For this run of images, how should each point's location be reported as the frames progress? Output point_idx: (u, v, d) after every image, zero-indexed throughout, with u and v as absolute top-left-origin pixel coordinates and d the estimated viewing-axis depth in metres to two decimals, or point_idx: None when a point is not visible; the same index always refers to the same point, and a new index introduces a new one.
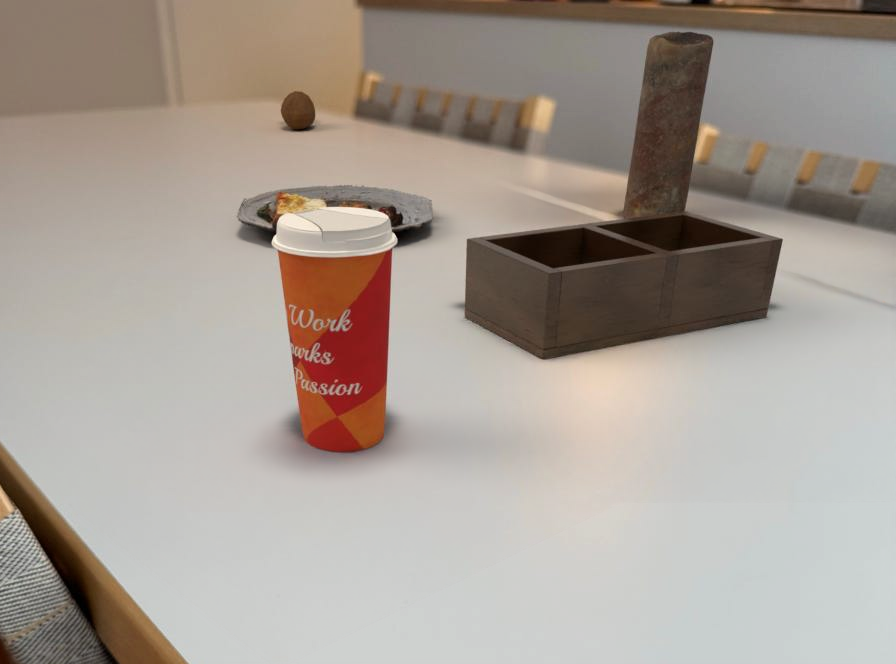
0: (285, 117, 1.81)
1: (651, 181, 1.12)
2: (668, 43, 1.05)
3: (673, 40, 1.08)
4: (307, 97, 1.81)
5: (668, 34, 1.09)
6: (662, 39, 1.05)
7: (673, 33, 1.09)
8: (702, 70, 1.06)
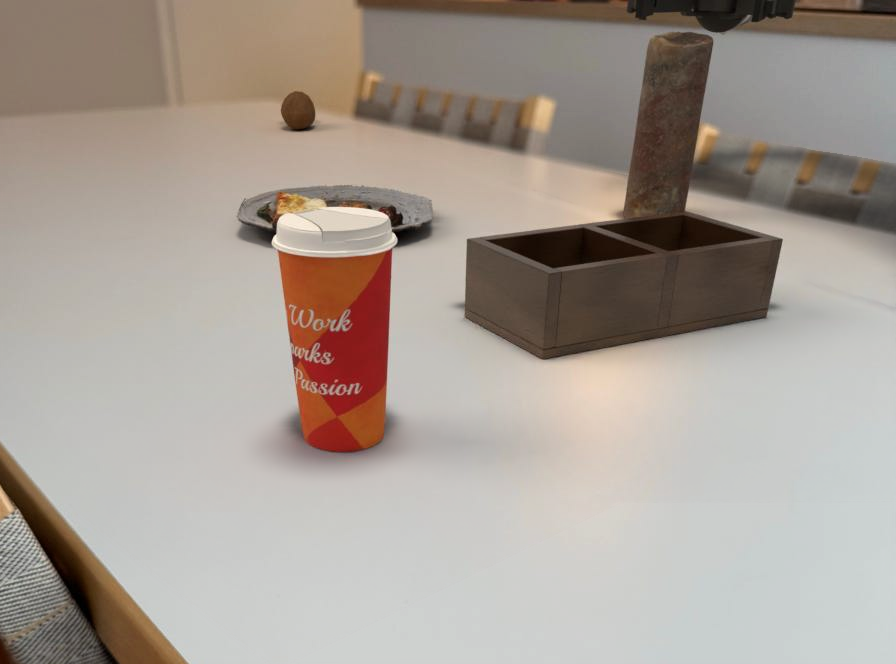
0: (285, 117, 1.81)
1: (651, 181, 1.12)
2: (668, 43, 1.05)
3: (673, 40, 1.08)
4: (307, 97, 1.81)
5: (668, 34, 1.09)
6: (662, 39, 1.05)
7: (673, 33, 1.09)
8: (702, 70, 1.06)
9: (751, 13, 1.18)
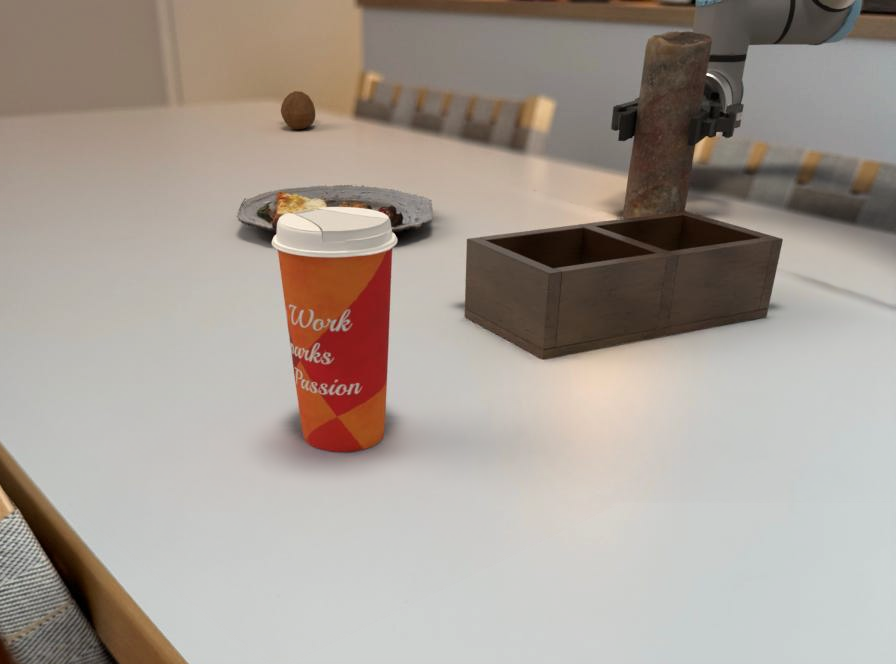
0: (285, 117, 1.81)
1: (650, 181, 1.12)
2: (666, 43, 1.05)
3: (671, 40, 1.08)
4: (307, 97, 1.81)
5: (666, 34, 1.09)
6: (660, 39, 1.05)
7: (671, 33, 1.09)
8: (700, 69, 1.06)
9: None
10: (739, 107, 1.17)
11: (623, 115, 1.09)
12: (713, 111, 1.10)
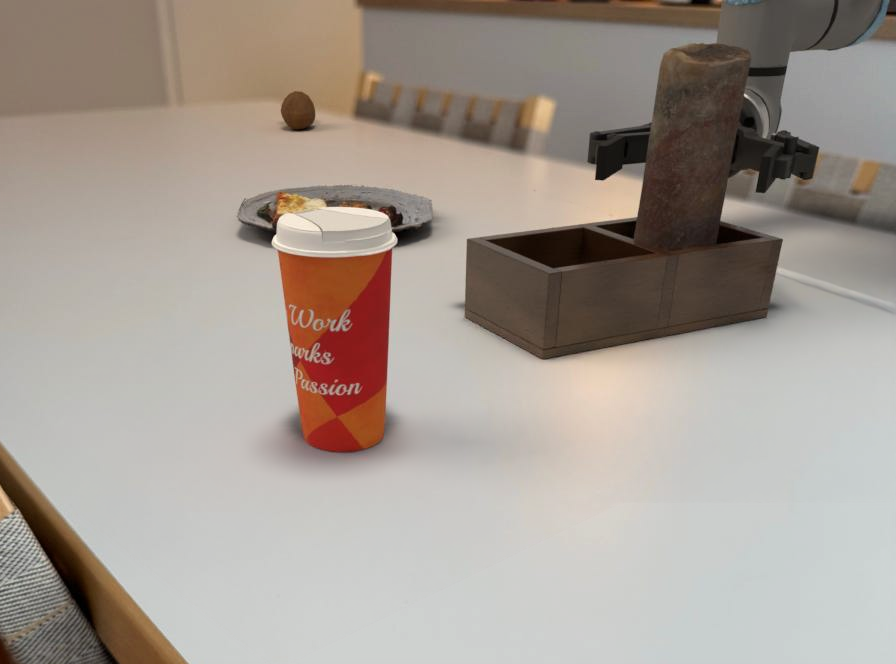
0: (285, 117, 1.81)
1: (664, 244, 0.84)
2: (689, 60, 0.76)
3: (695, 55, 0.79)
4: (307, 97, 1.81)
5: (688, 46, 0.80)
6: (681, 54, 0.76)
7: (695, 45, 0.80)
8: (735, 96, 0.77)
9: (756, 168, 0.86)
10: None
11: (601, 147, 0.82)
12: (790, 145, 0.82)
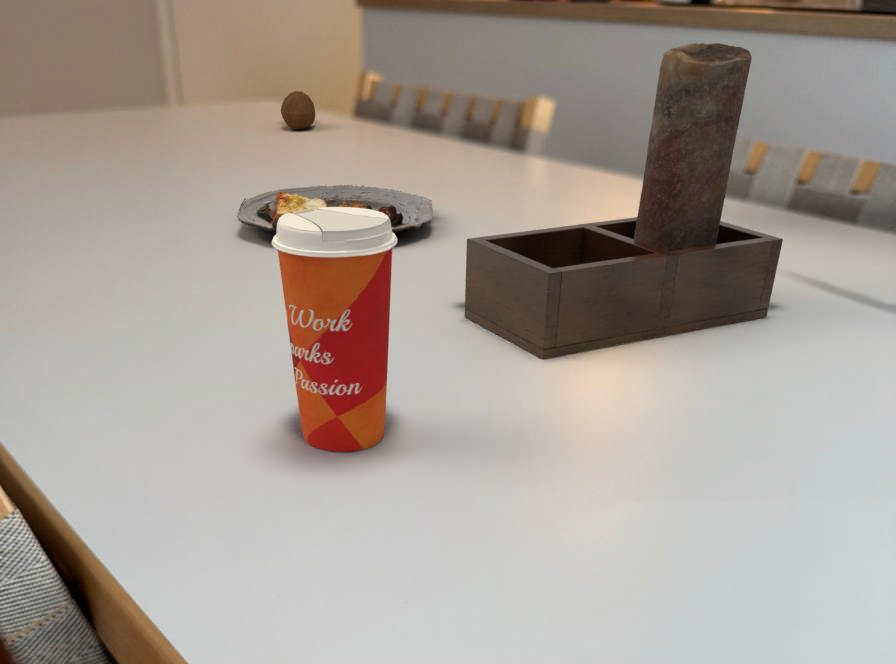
0: (285, 117, 1.81)
1: (664, 244, 0.84)
2: (690, 59, 0.76)
3: (696, 55, 0.79)
4: (307, 97, 1.81)
5: (689, 46, 0.80)
6: (681, 54, 0.76)
7: (695, 45, 0.80)
8: (735, 96, 0.77)
9: None
10: None
11: None
12: None
